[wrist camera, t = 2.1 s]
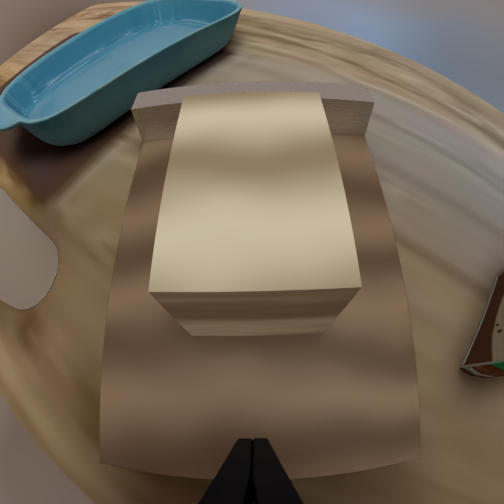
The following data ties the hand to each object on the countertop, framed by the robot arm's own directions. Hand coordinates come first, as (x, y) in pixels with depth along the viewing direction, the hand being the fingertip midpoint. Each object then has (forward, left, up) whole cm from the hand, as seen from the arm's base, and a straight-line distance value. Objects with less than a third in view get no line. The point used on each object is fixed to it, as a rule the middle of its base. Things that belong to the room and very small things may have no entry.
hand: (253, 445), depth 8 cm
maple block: (+11, 0, -9) cm, 15 cm away
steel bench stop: (+23, 0, -9) cm, 25 cm away
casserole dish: (+39, +17, -11) cm, 44 cm away
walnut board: (+11, 0, -11) cm, 15 cm away
